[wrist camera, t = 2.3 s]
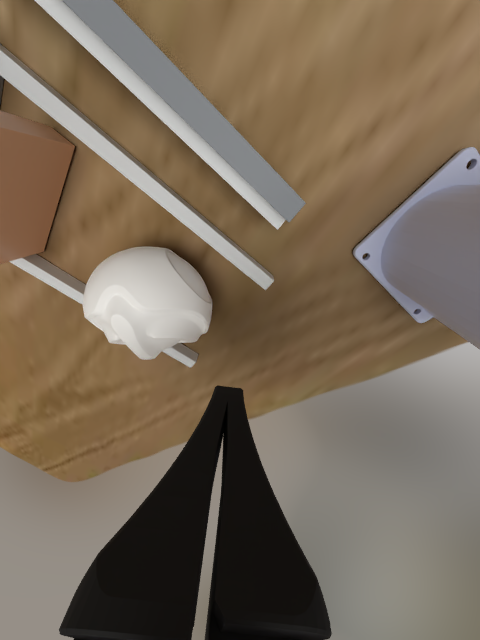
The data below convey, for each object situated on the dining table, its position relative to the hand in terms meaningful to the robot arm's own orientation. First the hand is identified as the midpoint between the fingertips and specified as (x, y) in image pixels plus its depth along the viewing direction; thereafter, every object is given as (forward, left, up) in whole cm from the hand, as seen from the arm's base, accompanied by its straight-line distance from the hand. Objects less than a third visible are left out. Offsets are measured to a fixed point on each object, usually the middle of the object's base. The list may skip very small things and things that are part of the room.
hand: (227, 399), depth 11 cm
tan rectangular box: (+16, +1, -9) cm, 19 cm away
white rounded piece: (+6, +2, -10) cm, 11 cm away
